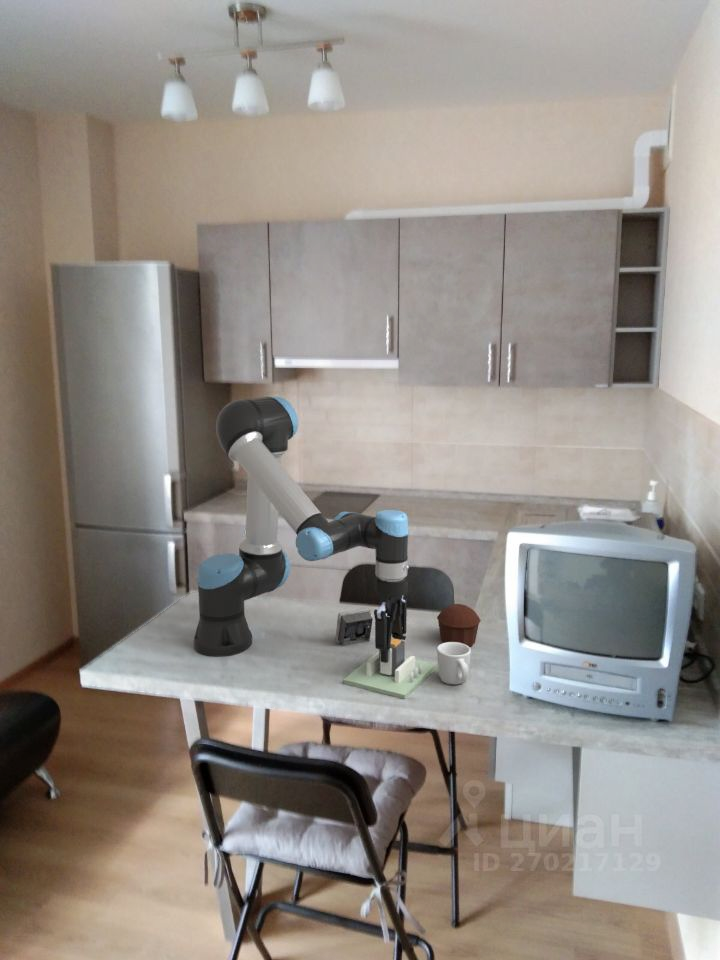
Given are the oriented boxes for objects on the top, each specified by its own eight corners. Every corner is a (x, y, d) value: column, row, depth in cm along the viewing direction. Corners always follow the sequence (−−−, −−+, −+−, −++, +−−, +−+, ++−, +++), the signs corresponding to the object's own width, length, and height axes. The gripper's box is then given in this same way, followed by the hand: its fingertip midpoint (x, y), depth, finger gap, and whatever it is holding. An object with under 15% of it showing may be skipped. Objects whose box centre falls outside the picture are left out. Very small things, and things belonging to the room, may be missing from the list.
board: (343, 683, 177) (343, 667, 176) (378, 654, 192) (378, 640, 191) (404, 699, 169) (405, 682, 168) (436, 667, 185) (436, 652, 184)
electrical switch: (366, 635, 204) (367, 604, 201) (374, 644, 199) (375, 613, 197) (334, 641, 200) (335, 610, 198) (341, 651, 196) (342, 618, 193)
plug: (379, 672, 179) (379, 642, 178) (388, 665, 183) (387, 636, 182) (396, 676, 177) (396, 646, 176) (404, 668, 181) (404, 639, 180)
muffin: (428, 638, 202) (429, 603, 200) (462, 630, 207) (463, 596, 205) (453, 654, 192) (454, 617, 190) (488, 646, 197) (489, 610, 195)
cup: (480, 690, 173) (481, 658, 171) (448, 695, 171) (449, 662, 169) (461, 670, 183) (462, 639, 182) (431, 674, 181) (431, 643, 179)
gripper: (389, 590, 166) (388, 687, 171) (421, 568, 181) (420, 658, 186) (359, 585, 170) (359, 680, 175) (393, 564, 185) (393, 652, 190)
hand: (390, 669), depth 180 cm, fingers closed on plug, 4 cm apart
